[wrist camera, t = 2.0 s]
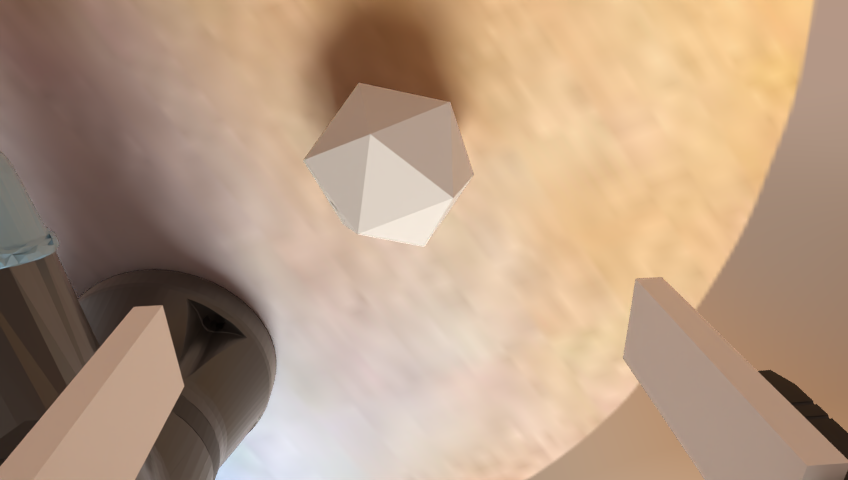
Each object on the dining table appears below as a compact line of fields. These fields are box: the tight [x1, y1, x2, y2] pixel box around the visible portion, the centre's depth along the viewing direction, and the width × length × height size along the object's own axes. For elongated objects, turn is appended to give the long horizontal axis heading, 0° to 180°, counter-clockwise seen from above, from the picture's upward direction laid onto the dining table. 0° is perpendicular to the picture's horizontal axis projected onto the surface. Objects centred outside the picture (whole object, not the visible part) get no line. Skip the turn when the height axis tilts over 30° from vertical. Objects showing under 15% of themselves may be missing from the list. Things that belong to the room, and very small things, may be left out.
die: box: [303, 83, 474, 247], centre depth 30 cm, size 8×9×10 cm
